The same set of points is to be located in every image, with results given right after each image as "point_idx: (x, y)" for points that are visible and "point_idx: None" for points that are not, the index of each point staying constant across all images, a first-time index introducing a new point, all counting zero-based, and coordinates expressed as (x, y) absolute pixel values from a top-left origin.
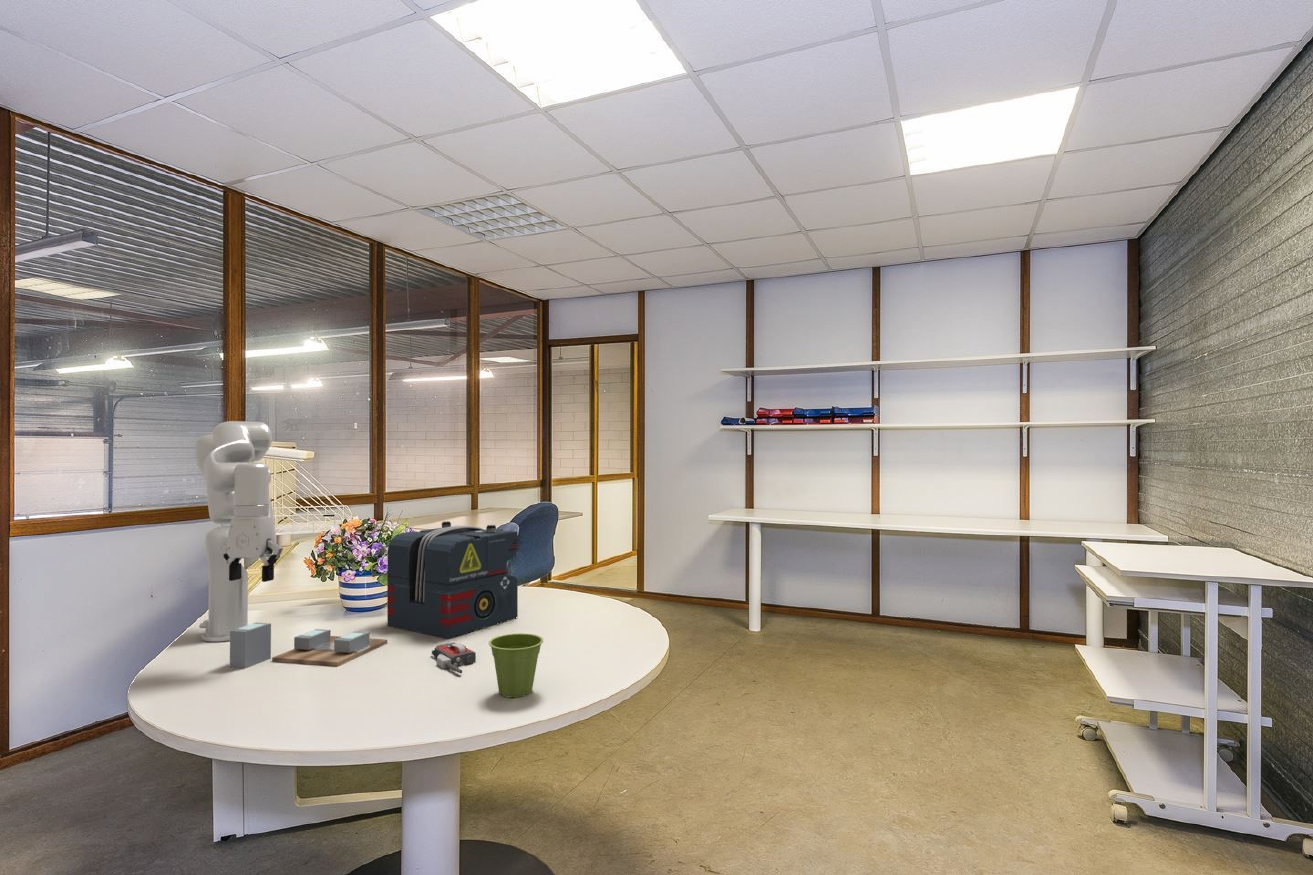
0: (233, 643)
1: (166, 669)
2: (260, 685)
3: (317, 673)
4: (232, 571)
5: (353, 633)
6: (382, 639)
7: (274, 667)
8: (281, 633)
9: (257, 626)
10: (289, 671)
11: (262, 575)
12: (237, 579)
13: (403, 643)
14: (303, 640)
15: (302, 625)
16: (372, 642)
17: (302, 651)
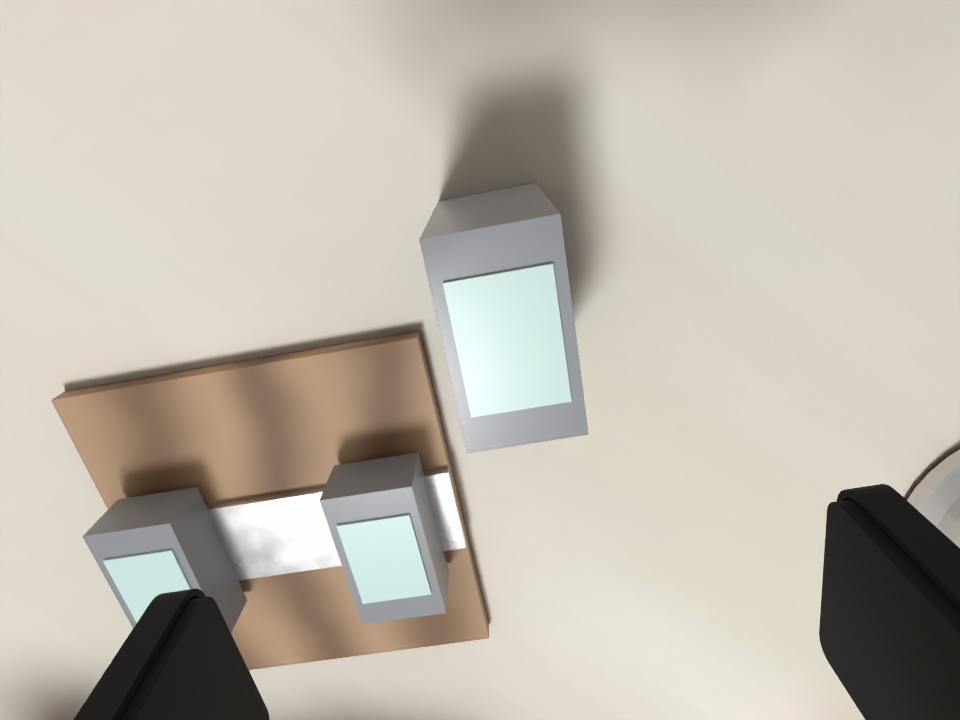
0: (521, 205)
1: (861, 7)
2: (87, 36)
3: (39, 287)
4: (943, 636)
5: None
6: None
7: (317, 271)
8: (770, 617)
9: (467, 363)
10: (188, 257)
11: (130, 674)
12: (831, 590)
13: None
14: (357, 486)
15: (776, 712)
16: None
17: (369, 452)
